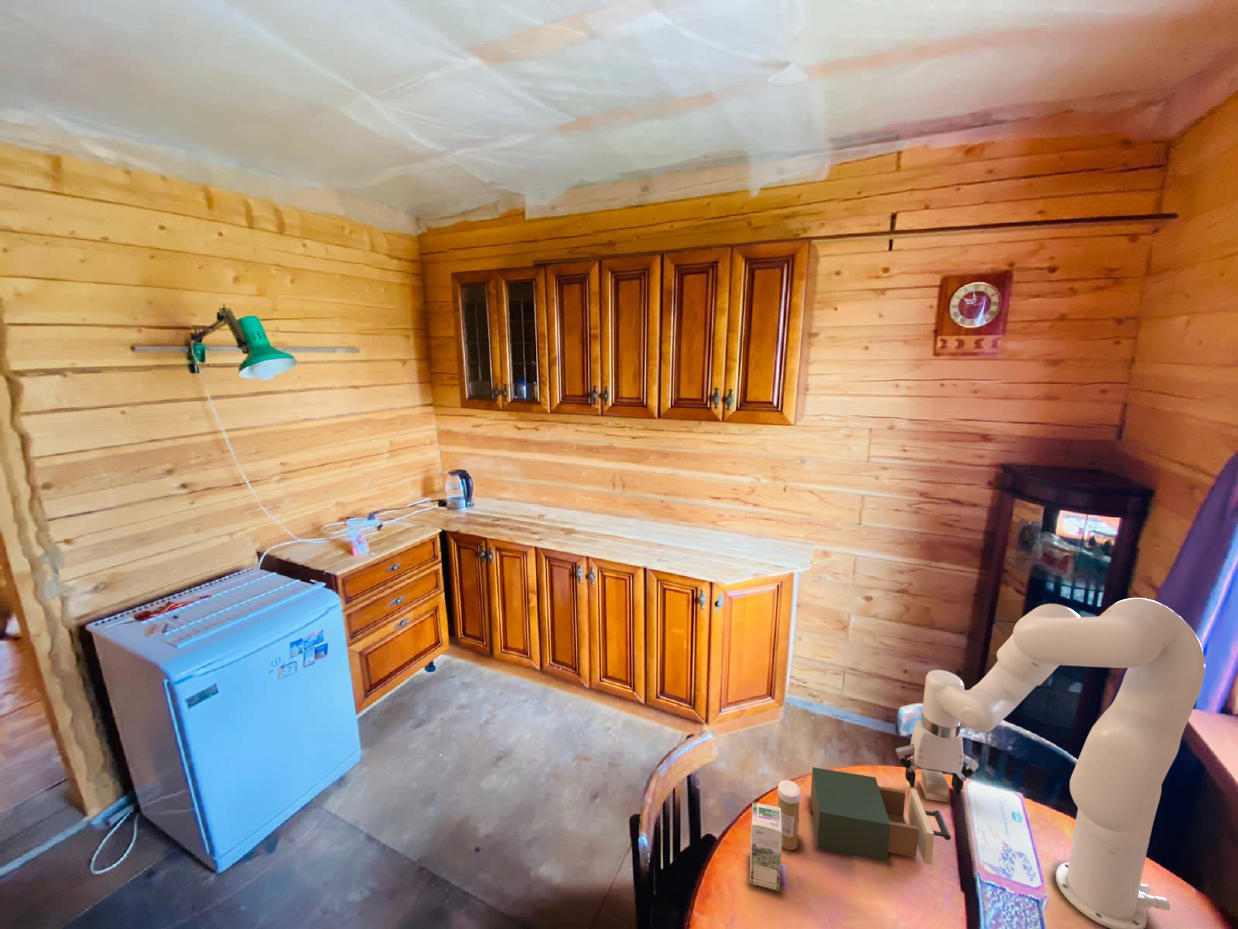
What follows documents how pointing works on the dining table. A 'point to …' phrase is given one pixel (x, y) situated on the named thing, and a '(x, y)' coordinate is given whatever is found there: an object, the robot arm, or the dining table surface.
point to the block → (934, 785)
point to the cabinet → (849, 814)
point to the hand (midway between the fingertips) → (932, 786)
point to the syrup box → (766, 846)
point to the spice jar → (789, 812)
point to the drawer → (920, 829)
